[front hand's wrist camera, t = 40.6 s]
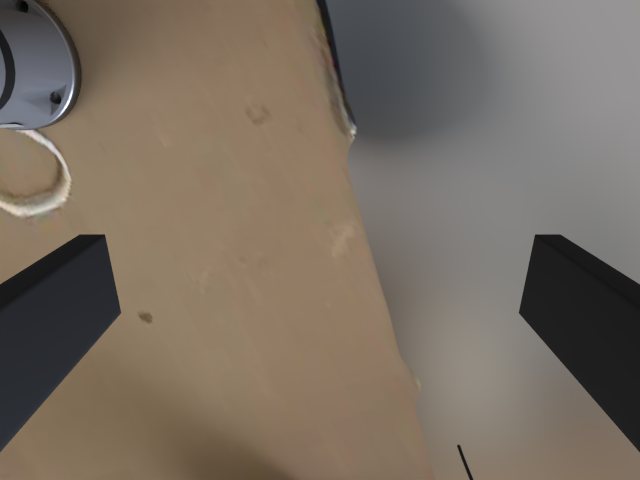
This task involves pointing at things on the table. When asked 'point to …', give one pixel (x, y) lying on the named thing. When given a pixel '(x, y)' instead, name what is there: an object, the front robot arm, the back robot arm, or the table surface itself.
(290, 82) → the table surface
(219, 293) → the table surface
